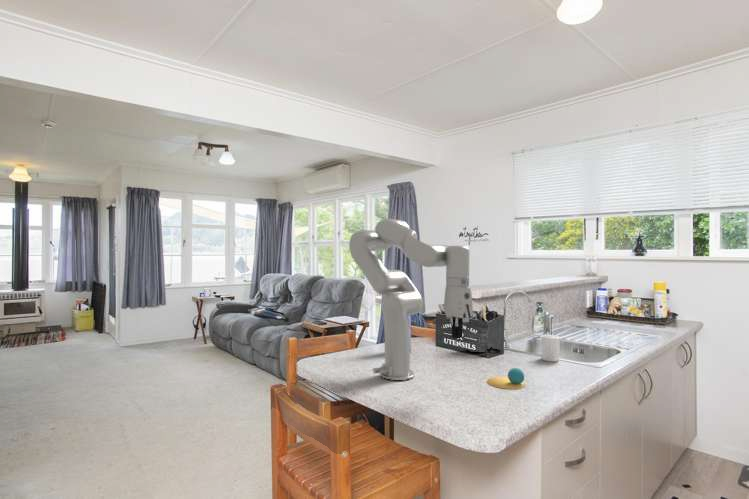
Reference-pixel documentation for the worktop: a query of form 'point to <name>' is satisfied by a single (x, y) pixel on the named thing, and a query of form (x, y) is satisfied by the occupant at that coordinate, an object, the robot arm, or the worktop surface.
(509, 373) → the ball
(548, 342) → the white cup
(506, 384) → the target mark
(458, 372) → the worktop surface
